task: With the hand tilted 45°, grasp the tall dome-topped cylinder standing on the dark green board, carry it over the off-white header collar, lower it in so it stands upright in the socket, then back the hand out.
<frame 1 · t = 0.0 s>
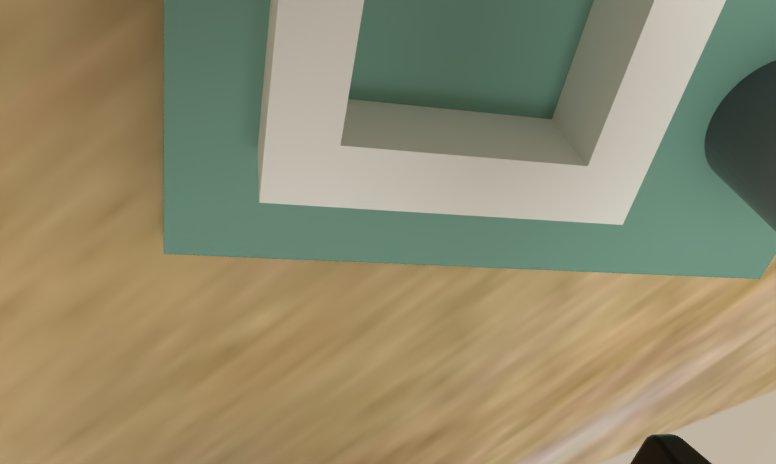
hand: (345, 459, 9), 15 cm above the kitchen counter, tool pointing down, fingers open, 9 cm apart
dome-topped cylinder: (772, 122, 24), point 1 cm above the kitchen counter, touching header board
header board: (551, 57, 23), on the kitchen counter
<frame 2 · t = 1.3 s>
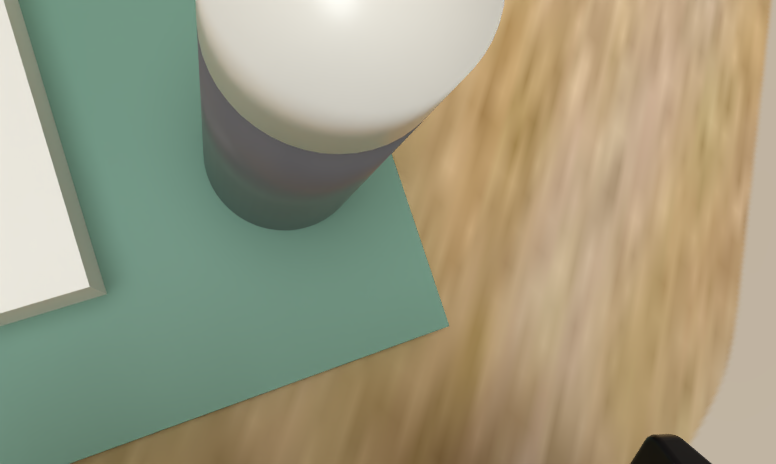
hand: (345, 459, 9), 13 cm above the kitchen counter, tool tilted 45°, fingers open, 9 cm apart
dome-topped cylinder: (283, 154, 22), point 1 cm above the kitchen counter, touching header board
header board: (2, 202, 21), on the kitchen counter
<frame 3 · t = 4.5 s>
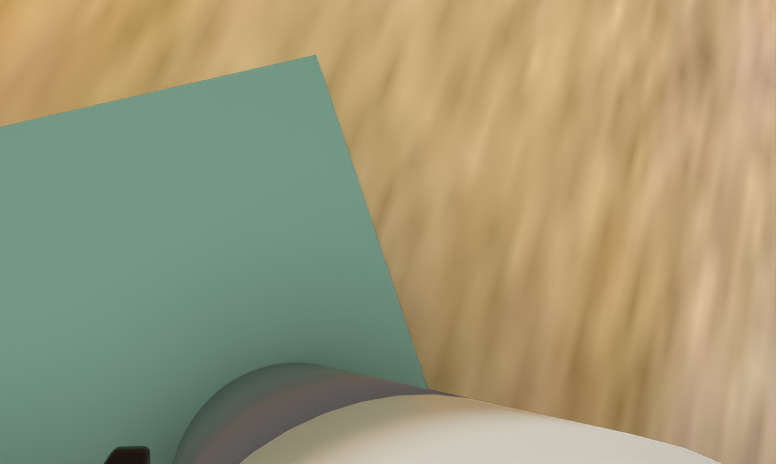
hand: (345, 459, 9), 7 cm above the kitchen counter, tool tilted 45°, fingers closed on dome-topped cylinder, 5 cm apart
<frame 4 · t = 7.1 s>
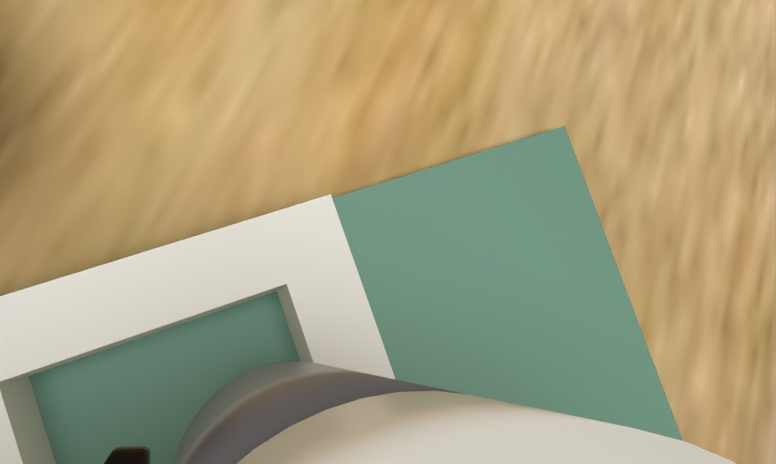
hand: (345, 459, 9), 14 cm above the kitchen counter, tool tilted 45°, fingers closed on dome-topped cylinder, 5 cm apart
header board: (324, 462, 22), on the kitchen counter
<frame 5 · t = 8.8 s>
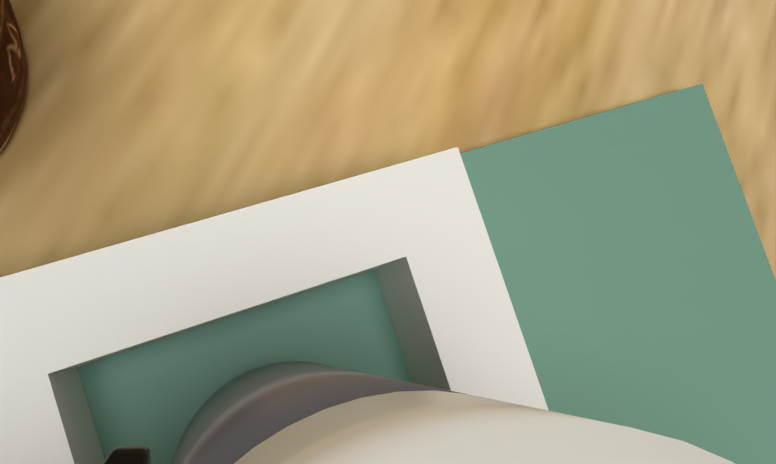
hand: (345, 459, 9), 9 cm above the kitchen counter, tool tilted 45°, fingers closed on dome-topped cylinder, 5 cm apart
when the fingers open (8 cm above the kitchen counter, at t = 10.0 s): dome-topped cylinder stays where it is, resting on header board.
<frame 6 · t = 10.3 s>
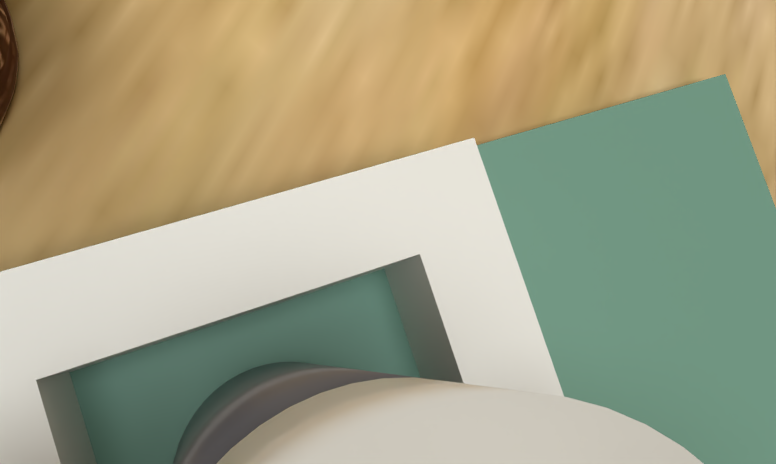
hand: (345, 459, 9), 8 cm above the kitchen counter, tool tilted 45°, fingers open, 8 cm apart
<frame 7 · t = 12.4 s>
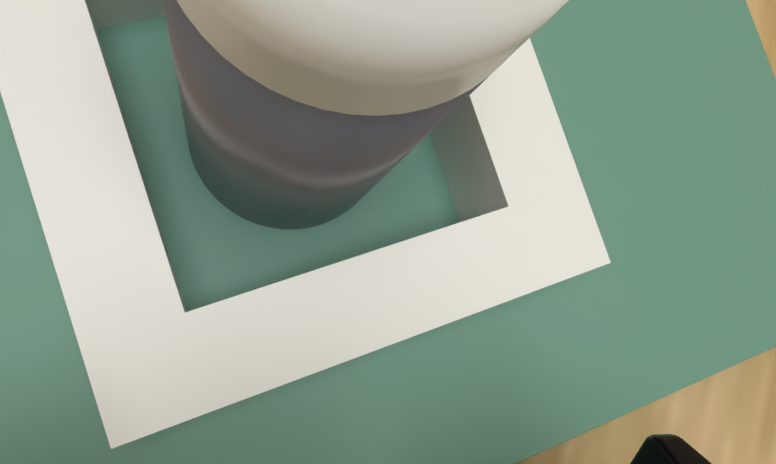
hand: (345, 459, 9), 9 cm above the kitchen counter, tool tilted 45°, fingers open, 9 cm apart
dome-topped cylinder: (288, 133, 18), point 1 cm above the kitchen counter, touching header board
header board: (423, 177, 20), on the kitchen counter
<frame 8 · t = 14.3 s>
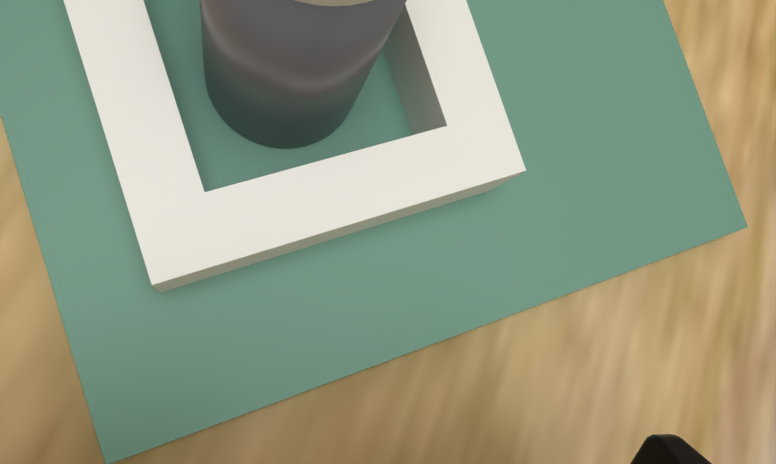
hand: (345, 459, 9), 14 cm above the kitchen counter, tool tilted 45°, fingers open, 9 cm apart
dome-topped cylinder: (282, 75, 23), point 1 cm above the kitchen counter, touching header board
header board: (390, 116, 25), on the kitchen counter
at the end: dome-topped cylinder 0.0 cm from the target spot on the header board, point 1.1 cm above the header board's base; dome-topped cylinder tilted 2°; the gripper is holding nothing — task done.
